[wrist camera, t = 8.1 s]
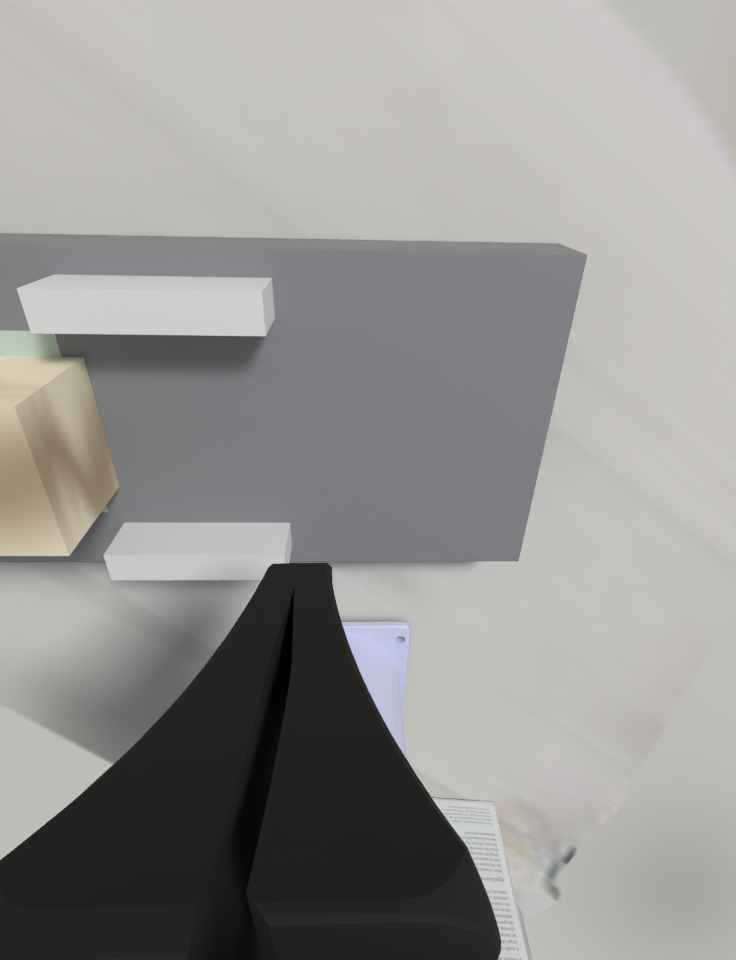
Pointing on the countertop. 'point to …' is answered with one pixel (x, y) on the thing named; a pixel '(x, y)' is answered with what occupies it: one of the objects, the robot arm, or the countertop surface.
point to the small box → (489, 866)
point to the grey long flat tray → (301, 392)
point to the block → (50, 456)
